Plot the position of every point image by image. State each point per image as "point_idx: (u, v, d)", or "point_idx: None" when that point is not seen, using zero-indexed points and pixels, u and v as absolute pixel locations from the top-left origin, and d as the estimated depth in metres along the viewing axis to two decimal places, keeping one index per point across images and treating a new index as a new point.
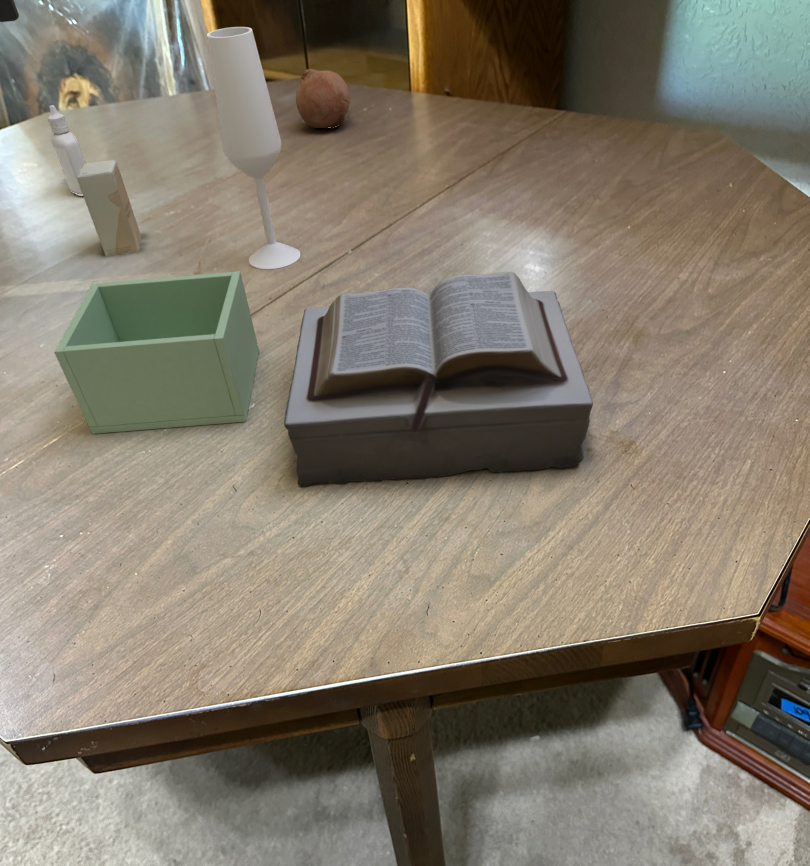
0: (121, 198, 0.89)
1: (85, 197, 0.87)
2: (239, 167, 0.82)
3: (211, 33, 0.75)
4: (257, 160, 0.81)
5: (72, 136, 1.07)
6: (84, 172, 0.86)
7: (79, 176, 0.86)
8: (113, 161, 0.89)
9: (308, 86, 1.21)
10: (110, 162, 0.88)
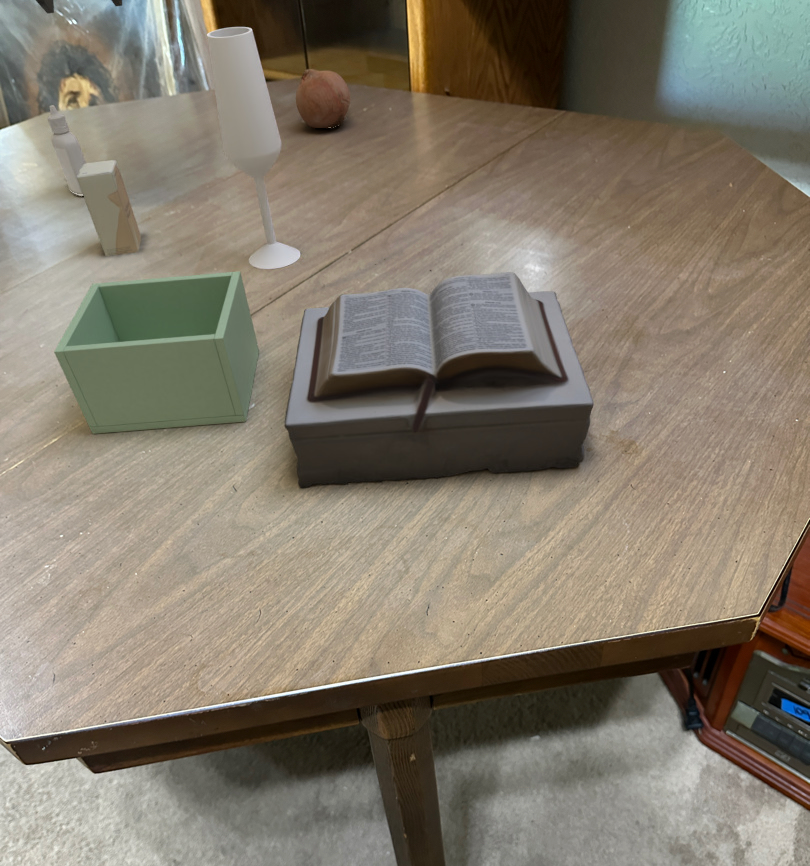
0: (121, 198, 0.89)
1: (85, 197, 0.87)
2: (239, 167, 0.82)
3: (211, 33, 0.75)
4: (257, 160, 0.81)
5: (72, 136, 1.07)
6: (84, 172, 0.86)
7: (79, 176, 0.86)
8: (113, 161, 0.89)
9: (308, 86, 1.21)
10: (110, 162, 0.88)
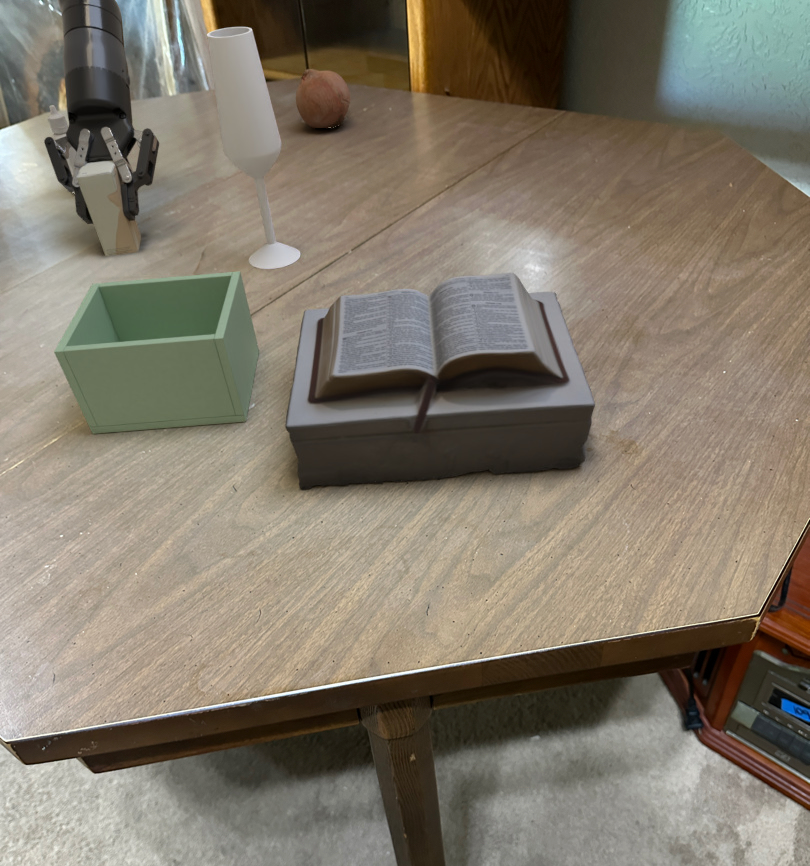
0: (121, 198, 0.89)
1: (85, 197, 0.87)
2: (239, 167, 0.82)
3: (211, 33, 0.75)
4: (257, 160, 0.81)
5: None
6: (84, 172, 0.86)
7: (79, 176, 0.86)
8: (113, 161, 0.89)
9: (308, 86, 1.21)
10: (110, 162, 0.88)
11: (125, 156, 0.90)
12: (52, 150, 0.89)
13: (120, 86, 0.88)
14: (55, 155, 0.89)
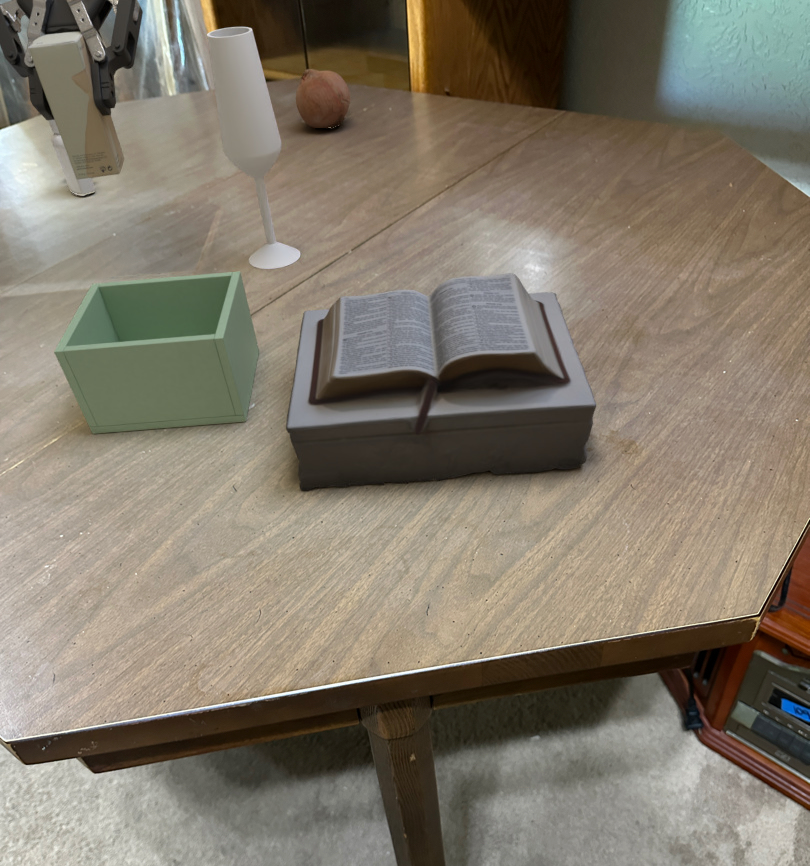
0: (91, 82, 0.65)
1: (41, 78, 0.64)
2: (239, 167, 0.82)
3: (211, 33, 0.75)
4: (257, 160, 0.81)
5: None
6: (39, 42, 0.63)
7: (32, 46, 0.63)
8: (80, 32, 0.66)
9: (308, 86, 1.21)
10: (75, 33, 0.65)
11: (97, 27, 0.67)
12: None
13: None
14: (1, 23, 0.65)
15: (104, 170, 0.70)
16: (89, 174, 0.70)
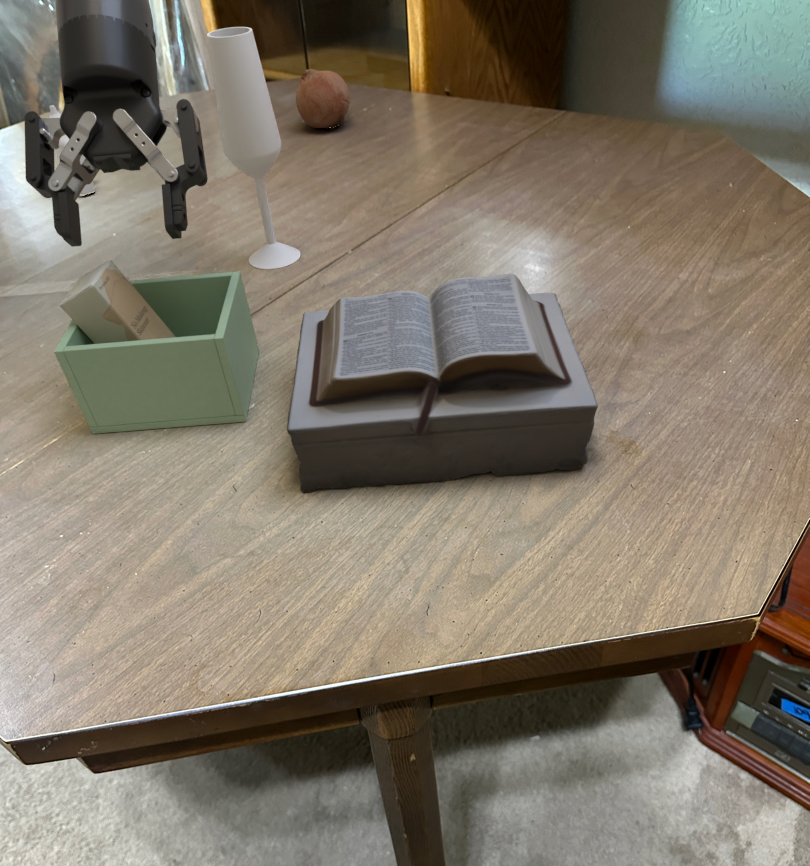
0: (121, 312, 0.64)
1: (80, 326, 0.64)
2: (239, 167, 0.82)
3: (211, 33, 0.75)
4: (257, 160, 0.81)
5: None
6: (69, 294, 0.63)
7: (62, 303, 0.63)
8: (106, 263, 0.64)
9: (308, 86, 1.21)
10: (102, 266, 0.64)
11: None
12: (32, 132, 0.59)
13: (142, 47, 0.58)
14: (34, 141, 0.59)
15: None
16: None
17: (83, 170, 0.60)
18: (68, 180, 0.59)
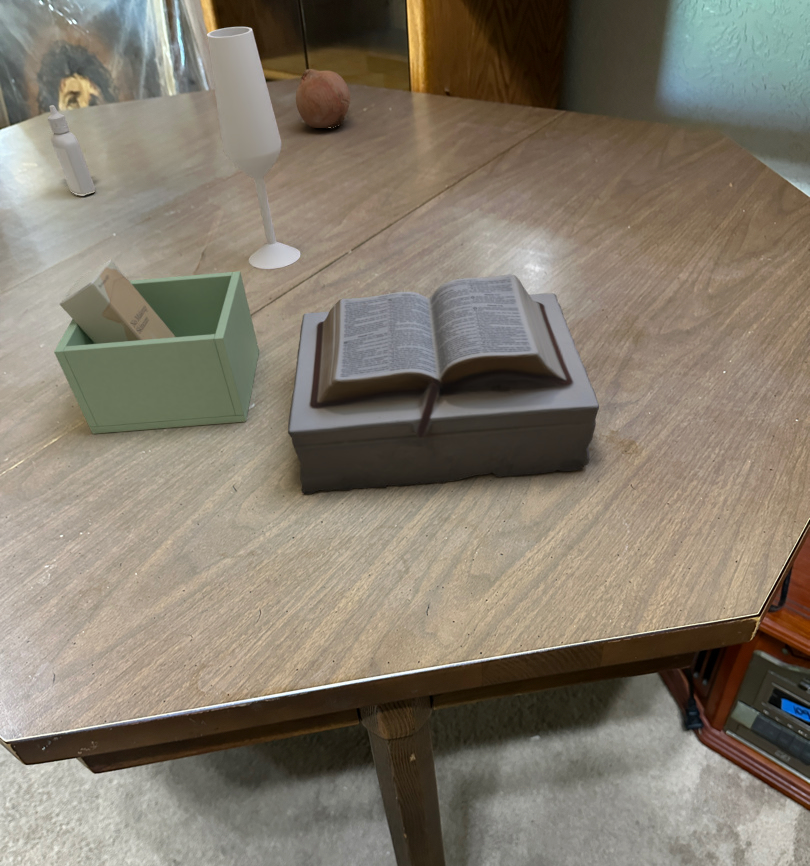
0: (121, 310, 0.64)
1: (80, 325, 0.64)
2: (239, 167, 0.82)
3: (211, 33, 0.75)
4: (257, 160, 0.81)
5: (72, 136, 1.07)
6: (69, 293, 0.64)
7: (61, 301, 0.63)
8: (106, 263, 0.65)
9: (308, 86, 1.21)
10: (102, 266, 0.64)
11: None
12: None
13: None
14: None
15: None
16: None
17: None
18: None
